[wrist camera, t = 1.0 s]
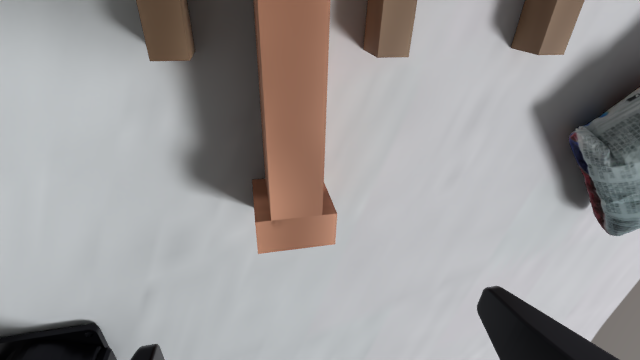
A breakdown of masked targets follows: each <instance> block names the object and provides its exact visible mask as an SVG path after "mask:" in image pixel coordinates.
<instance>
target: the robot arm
mask: <svg viewBox="0 0 640 360" xmlns="http://www.w3.org/2000/svg"><path fill="white" fill-rule="evenodd" d="M477 311H478V314H479V316H480V319H481V321H482V323H483V325H484V327H485V329H486V331H487V333H488V335H489V338H490V340H491V342H492V344H493V346H494V348H495V350H496V352H497V354H498V356H499V358H500V360H619V359H618V358H616V357H614V356H613V355H611V354H609V353H608V352H606V351H604V350H603V349H601V348H599V347H598V346H596V345H595V344H593V343H591V342H590V341H588V340H587V339H585V338H583V337H582V336H580V335H578V334H577V333H575V332H573V331H572V330H570V329H569V328H567V327H565V326H564V325H562V324H560V323H559V322H557V321H555V320H554V319H552V318H551V317H549V316H547V315H546V314H544V313H542V312H541V311H539V310H538V309H536V308H534V307H533V306H531V305H529V304H528V303H526V302H524V301H523V300H521V299H520V298H518V297H516V296H515V295H513V294H511V293H510V292H508V291H506V290H505V289H503V288H501V287H499V286H493V287H487V288H485V289H484V290H483V292H482V295H481V297H480V300H479V302H478V305H477ZM0 360H117V359H116V357H115V355H114V353H113V351H112V349H110V348H109V346H108V344H107V342H106V340H105V338H104V336H103V334H102V332H101V330H100V328H99V327H98V326H97V325H93V324H89V325H82V326H76V327H69V328H62V329H56V330H49V331H43V332H36V333H30V334H23V335H17V336H10V337H4V338H0ZM131 360H164V357H163V354H162V352H161V349H160V346H159V345H158V344H152V345H146V346H142V347H140V348H139V349H138V350H137V351H136V352H135V354H134V355H133V357H132V358H131Z"/></svg>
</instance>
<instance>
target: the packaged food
mask: <svg viewBox="0 0 640 360" xmlns="http://www.w3.org/2000/svg"><path fill="white" fill-rule="evenodd" d="M575 129H576V130H575V131H574V132H572V133H571V134H570V136H569V143H570V146H571V149H572V151H573V154H574V156H575V159H576V161H577V163H578V165H579V167H580V170H581V172H582V174H583V175H584V178H585V184H586V187H587V191H588V194H589V198H590V202H591V204H592V208H593V213H594V215H595V217H596V218H597V220H598V222H599V223H600V225H601V226H602V228H603V229H604V230H605V231H606V232H607V233H608V234H610V235H614V236H621V235H623V234H626V233H629V232H632V231H634V230H636V229H639V228H640V87H639V88H638V89H636V90H635V91H633V92H632V93H631V94H629V95H628V96H627V97H625V98H624V99H622V100H621V101H620V102H618V103H617V104H616V105H614V106H613V107H611V108H610V109H609V110H607V111H606V112H605V113H604V114H602V115H601V116H600V117H599V118H596V119H594V120H593V121H592V122H590V123H588V124H586V125H584V126H579V128H578V129H577V128H575Z"/></svg>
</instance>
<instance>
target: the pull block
mask: <svg viewBox="0 0 640 360" xmlns="http://www.w3.org/2000/svg"><path fill="white" fill-rule="evenodd" d="M253 4H254V19H255V33H256V48H257V63H258V78H259V93H260V107H261V122H262V137H263V152H264V167H265V179H253V180H252V185H253V198H254V212H255V225H256V235H257V246H258V254H261V253H269V252H276V251H284V250H292V249H300V248H308V247H316V246H324V245H332V244H335V238H336V222H337V212H336V210H335V208H334V205H333V203H332V200H331V198H330V196H329V193H328V191H327V189H326V186H325V184H324V156H325V129H326V102H327V76H328V49H329V22H330V0H253Z"/></svg>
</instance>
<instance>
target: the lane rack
mask: <svg viewBox="0 0 640 360" xmlns="http://www.w3.org/2000/svg"><path fill="white" fill-rule="evenodd" d="M136 2H137V6H138V11H139V15H140V20H141V24H142V28H143V33H144V37H145V42H146V46H147V50H148V55H149V59H150V61H189V60H191V58H192V56H193V54H194V52H195V47H194V41H193V35H192V28H191V22H190V16H189V9H188V3H187V0H136ZM583 3H584V0H525V3H524V6H523V9H522V13H521V16H520V19H519V23H518V26H517V29H516V32H515V36H514V39H513V42H512V46H511V48H513V49H517V50H521V51H525V52H529V53H532V54H536V55H564V52H565V50H566V47H567V44H568V42H569V39H570V37H571V34H572V31H573V29H574V26H575V24H576V21H577V18H578V16H579V13H580V10H581V8H582V5H583ZM416 5H417V0H368V2H367V13H366V25H365V36H364V47H363V50H365V51H367V52H369V53H370V54H372V55H374V56H376V57H377V58H381V57H409V50H410V44H411V37H412V31H413V24H414V18H415V11H416Z"/></svg>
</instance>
